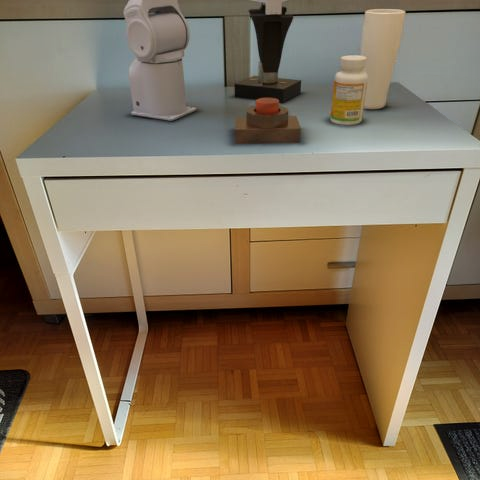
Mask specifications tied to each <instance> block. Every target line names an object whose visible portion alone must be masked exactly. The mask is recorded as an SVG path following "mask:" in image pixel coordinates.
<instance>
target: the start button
mask: <svg viewBox="0 0 480 480" xmlns="http://www.w3.org/2000/svg"><path fill="white" fill-rule="evenodd" d="M279 105H280V103H279V100H278V99H275V98H260V99H257V100H255V106H256V112H257V113H262V114H272V113H278V112H279Z"/></svg>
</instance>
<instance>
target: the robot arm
mask: <svg viewBox="0 0 480 480" xmlns="http://www.w3.org/2000/svg"><path fill="white" fill-rule="evenodd" d="M249 1H250V2H256V3H259V8H250V9H248V13H249V15H250V18H251V21H252V24H253V27H254V32H255V36H256V44H257V51H258V58H259V61H260V62H261V63H262V68H263V72H264V73H277V72H278V73H279V70H280V65H281V61H282V56H283V49H284V45H285V41H286V38H287V34H288V33H289V29H290V27H291V25H292V23H293V21H294V15H293V14H290V15H289V14H287V15H286V13H287V12H288V11H287V10H288V8H287V7H286V6H283V3H285V2H288V1H289V0H249ZM122 13H123V16H124V21H125V24H126V25H125V26H126V39H127V43H128V46H129V48H130V50H131V52H132V54H133V55H134V56H135V57H136V58H135V59H134V60H132V61H131V62H130V65H129V69H128V82H129V89H130V94H131V99H132V100H131V101H132V107H133V110H132V111H130V114H131V115H132V116H138V117H144V118H150V119H157V120H163V121H169V122H172V121H176V120H177V119H180V118H182V117H184V116H187V115H189V114H191V113H193V112H196V111H197V107H194V106H187V99H186V87H185V76H184V75H185V74H184V73H185V72H184V63H183V62H184V61H183V58H184V57H185V50H186V49H187V47H188V46H189V42H190V28H189V24H188V21H187V19H186V18H185V16H184V15H183V13H182V12H181V9H180V6H179V1H178V0H128V2H127V4H125V7H124V9H123V11H122Z"/></svg>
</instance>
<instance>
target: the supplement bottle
mask: <svg viewBox="0 0 480 480" xmlns="http://www.w3.org/2000/svg"><path fill="white" fill-rule="evenodd" d="M365 65H366V57H364V56H360V55H357V54H355V55H354V54H352V55H350V54H349V55H344V56H341V57H340V62H339V67H340V71H337V72H336V73H335V75H334V79H333V89H332V97H331V98H332V99H331V110H330V121H331V122H332V123H333V124H337V125H341V126H342V125H343V126H352V125H354V126H355V125H358V124H360V123H361V122H362V121H363V116H364V102H365V95H366V88H367V81H368V75H367V73H365V72H364V71H363V68H365Z"/></svg>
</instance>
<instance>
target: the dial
mask: <svg viewBox="0 0 480 480" xmlns="http://www.w3.org/2000/svg"><path fill="white" fill-rule="evenodd" d="M257 62H258V69H257V71H258V73H257V76H258V82H259V83H263V84H273V83H277V82H278V78H279V71H278V72H277V73H264V72H263V68H262V63H261V62H260V60H259V61H257Z"/></svg>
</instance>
